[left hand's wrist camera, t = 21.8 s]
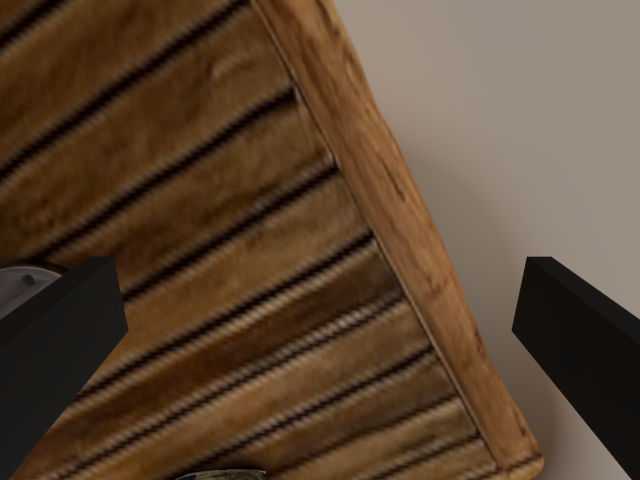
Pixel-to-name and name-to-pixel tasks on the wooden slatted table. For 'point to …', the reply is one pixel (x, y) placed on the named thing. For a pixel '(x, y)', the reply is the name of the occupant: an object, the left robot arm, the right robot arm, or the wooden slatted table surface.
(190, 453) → the wooden slatted table surface
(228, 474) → the fossil
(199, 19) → the wooden slatted table surface
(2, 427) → the left robot arm
